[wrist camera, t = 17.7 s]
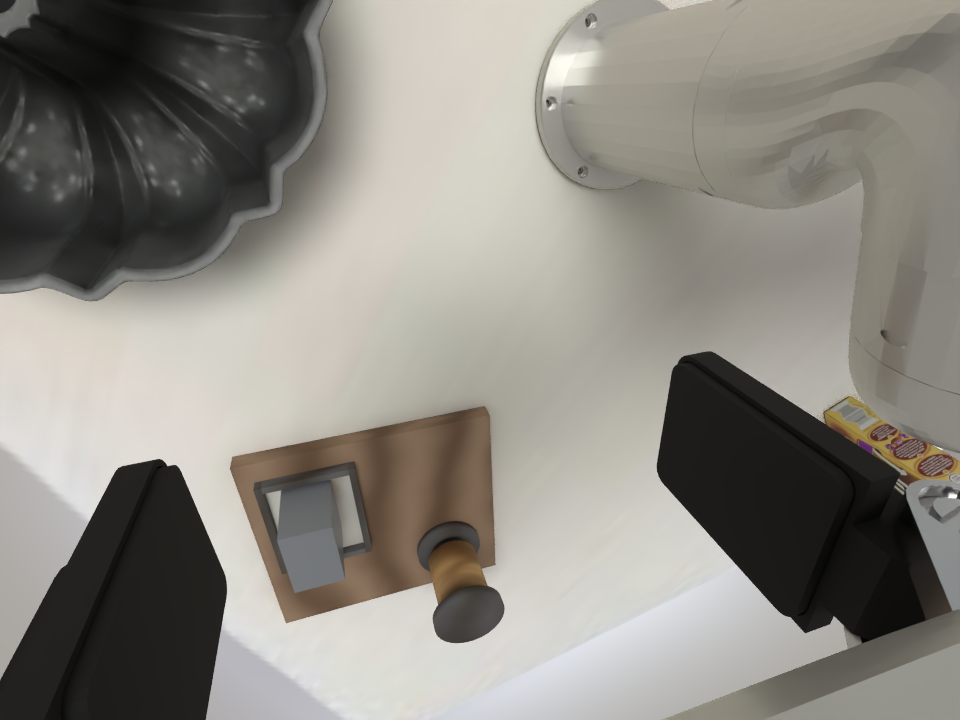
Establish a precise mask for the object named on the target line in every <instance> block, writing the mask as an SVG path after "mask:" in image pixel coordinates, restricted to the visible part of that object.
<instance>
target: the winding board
mask: <svg viewBox="0 0 960 720" xmlns="http://www.w3.org/2000/svg"><path fill="white" fill-rule="evenodd" d="M230 470H231V473H232V476H233V478H234V481H235V484H236V487H237V489H238V492H239V495H240V498H241V500H242V503H243V506H244V509H245V511H246V514H247V517H248V520H249V522H250V525H251V528H252V531H253V533H254V536H255V539H256V542H257V544H258V547H259V550H260V553H261V555H262V558H263V561H264V564H265V566H266V569H267V572H268V575H269V577H270V580H271V583H272V586H273V588H274V591H275V594H276V597H277V599H278V602H279V605H280V608H281V610H282V613H283V616H284V619H285V621H286V623H289V622H292V621H296V620H299V619H303V618H306V617H310V616H314V615H317V614H321V613H324V612H328V611H332V610H335V609H339V608H342V607H346V606H349V605H353V604H357V603H360V602H364V601H367V600H371V599H375V598H378V597H382V596H385V595H389V594H392V593H396V592H400V591H403V590H407V589H410V588H414V587H418V586H421V585H425V584H428V583H432V582H433V585H434V589H435V593H436V597H437V601H438V606H437V608H436V609H435V611H434V614H433V624H434V628H435V632H436V634H437V636H438V637H439V638H440V639H442V640H444V641H446V642H450V643H464V642H469V641H472V640H475V639H478V638H480V637H482V636H484V635H485V634H487V633H489V632H490V631H491V630H492V629H494V628H495V627H496V626H497V624H498V623H499V622H500V620H501V619H502V617H503V614H504V604H503V601H502V599H501V596H500V594H499V592H498V591H497V590H495V589H494V588H492V587H489V586H487V583H486V580H485V577H484V575H483V572H482V568H486V567H489V566H493V565H495V544H494V519H493V494H492V468H491V443H490V418H489V414H488V412H487V410H486V408H485V406H484V407H479V408H474V409H469V410H464V411H459V412H454V413H449V414H445V415H440V416H435V417H430V418H425V419H420V420H415V421H410V422H405V423H400V424H395V425H390V426H385V427H380V428H375V429H370V430H365V431H360V432H355V433H350V434H345V435H340V436H335V437H330V438H326V439H321V440H316V441H311V442H306V443H301V444H296V445H291V446H286V447H281V448H276V449H271V450H266V451H261V452H256V453H251V454H246V455H241V456H236V457H232V462H231V466H230ZM326 480H331V484H332V488H333V492H334V497H335V501H336V505H337V509H338V513H339V517H340V521H341V525H342V538H343V552H344V567H345V580H342V581H338V582H335V583H331V584H327V585H323V586H320V587H316V588H312V589H308V590H305V591H301V592H297V593H294V590H293V587H292V584H291V581H290V578H289V575H288V572H287V569H286V566H285V563H284V560H283V557H282V554H281V551H280V548H279V545H278V542H277V535H278V522H279V509H280V496H281V490H285V489H289V488H294V487H299V486H303V485H308V484H312V483H317V482H321V481H326Z"/></svg>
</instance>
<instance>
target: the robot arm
mask: <svg viewBox="0 0 960 720" xmlns="http://www.w3.org/2000/svg"><path fill="white" fill-rule="evenodd" d="M586 19H587V21H588V25H587V27H586V24H585V20H586ZM546 100H548V101H549V105H548V107H546V105H545V103H546ZM536 115H537V124H538V129H539V133H540V136H541V140H542V143H543V145H544V147H545V149H546V151H547V153H548V155H549V157H550V159H551V160H552V161H553V163H554V164H555V165H556V166H557V168H558V169H559V170H560V171H561V172H563V173H564V174H565V175H566V176H567V177H569V178H570V179H572V180H574V181H576V182H578V183H580V184H582V185H585V186H588V187H591V188H596V189H604V190H609V189H619V188H623V187H626V186H629V185H632V184H634V183H636V182H638V181H640V180H642V179H647V180H651V181H655V182H659V183H663V184H667V185H670V186H674V187H678V188H682V189H686V190H690V191H694V192H698V193H702V194H706V195H709V196H713V197H717V198H721V199H725V200H729V201H733V202H737V203H742V204H746V205H750V206H754V207H760V208H767V209H788V208H795V207H800V206H805V205H809V204H813V203H816V202H818V201H821V200H824V199H826V198H828V197H831V196H833V195H835V194H838V193H840V192H842V191H844V190H846V189H847V188H849V187H851V186H853V185H855V184H856V183H858V182H860V181H862V180H863V185H864V201H863V213H862V222H861V232H862V237H861V244H860V252H859V260H858V267H857V275H856V282H855V290H854V298H853V305H852V313H851V325H850V333H849V351H848V359H849V369H850V374H851V377H852V381H853V384H854V386H855V388H856V390H857V392H858V394H859V395H860V397H861V399H862V400H863V401H864V403H865V404H866V405H867V406H868V407H869V408H870V409H871V410H872V411H873V412H874V413H875V414H876V415H877V416H878V417H879V418H881V419H882V420H883V421H885V422H886V423H888V424H889V425H891V426H893V427H894V428H896V429H898V430H900V431H901V432H903V433H905V434H907V435H909V436H911V437H913V438H915V439H918V440H920V441H923V442H926V443H928V444H931V445H934V446H937V447H940V448H943V449H946V450H950V451H953V452H957V453H960V0H712V1H708V2H703V3H699V4H695V5H690V6H686V7H682V8H677V9H673V10H670V9H669V8H667V7H666V6H665V5H663V4H662V3H661V2H659V1H657V0H598V1H596V2H594V3H593V4H591V5H589V6H587V7H585V8H583V9H582V10H581V11H580V12H579V13H577V14H576V15H575V16H574V17H573V18H571V19H570V20H569V21H568V23H567V24H566V25H565V26H564V27H563V29H562V30H561V31H560V32H559V34H558V35H557V36H556V38H555V40H554V42H553V43H552V45H551V47H550V49H549V50H548V52H547V55H546V58H545V60H544V63H543V66H542V68H541V71H540V76H539V81H538V86H537V94H536ZM579 168H580V172H579V173H578V169H579ZM657 472H658V475H659V478H660V480H661V481H662V483H663V484H664V485H665V486H666V487H667V488H668V489H669V491H670V492H671V493H672V494H673V495H674V496H675V497H676V498H677V499H678V501H679V502H680V503H681V504H682V505H683V506H684V507H685V508H686V509H687V510H688V512H689V513H690V514H691V515H692V516H693V517H694V518H695V519H696V520H697V522H698V523H699V524H700V525H701V526H702V527H703V528H704V529H705V530H706V532H707V533H708V534H709V535H710V536H711V537H712V538H713V539H714V540H715V542H716V543H717V544H718V545H719V546H720V547H721V548H722V549H723V550H724V552H725V553H726V554H727V555H728V556H729V557H730V558H731V559H732V560H733V562H734V563H735V564H736V565H737V566H738V567H739V568H740V569H741V570H742V571H743V573H744V574H745V575H746V576H747V577H748V578H749V579H750V580H751V582H752V583H753V584H754V585H755V586H756V587H757V588H758V589H759V590H760V591H761V593H762V594H763V595H764V596H765V597H766V598H767V599H768V600H769V601H770V602H771V604H772V605H773V606H774V607H775V608H776V609H777V610H778V611H779V612H780V613H782V614H783V615H785V616H788V617H791V618H792V619H793V620H794V622H795V623H796V624H797V625H798V626H799V627H800V628H801V629H802V630H803V631H804V632H805V633H807V632H810V631H812V630H815V629H818V628H821V627H823V626H826V625H829V624H830V623H831V621H832V619H833V616H835V617H836V618H837V619H838V620H839V621H840V622H841V623H842V624H843V625H844V631H845V637H846V642H847V646H848V649H847V650H844V651H841V652H839V653H836V654H833V655H831V656H828V657H825V658H823V659H820V660H818V661H815V662H812V663H810V664H807V665H804V666H802V667H799V668H796V669H794V670H792V671H788V672H786V673H783V674H780V675H778V676H775V677H773V678H770V679H767V680H765V681H762V682H759V683H757V684H754V685H751V686H749V687H746V688H744V689H741V690H738V691H736V692H733V693H730V694H728V695H725V696H723V697H720V698H717V699H715V700H712V701H710V702H707V703H704V704H702V705H699V706H697V707H694V708H691V709H689V710H686V711H684V712H681V713H678V714H676V715H673V716H670V717H668V718H665V719H663V720H960V484H959V483H955V482H951V481H946V480H938V479H924V480H918V481H915V482H913V483H911V484H910V485H909V486H908V488H907V489H906V491H905V493H904V495H903V494H901V493H900V492H898V491H897V490H895V489H894V487H895V484H896V482H897V480H898V478H899V476H900V474H901V473H900V472H899V471H897V470H896V469H894V468H892V467H891V466H889V465H888V464H886V463H885V462H883V461H882V460H880V459H878V458H877V457H875V456H874V455H872V454H871V453H869V452H868V451H866V450H864V449H863V448H861V447H860V446H858V445H857V444H855V443H854V442H852V441H850V440H849V439H847V438H846V437H844V436H843V435H841V434H840V433H838V432H837V431H835V430H833V429H832V428H830V427H829V426H827V425H826V424H824V423H823V422H821V421H819V420H818V419H816V418H815V417H813V416H812V415H810V414H809V413H807V412H805V411H804V410H802V409H801V408H799V407H798V406H796V405H795V404H793V403H792V402H790V401H788V400H787V399H785V398H784V397H782V396H781V395H779V394H778V393H776V392H774V391H773V390H771V389H770V388H768V387H767V386H765V385H764V384H762V383H760V382H759V381H757V380H756V379H754V378H753V377H751V376H750V375H748V374H746V373H745V372H743V371H742V370H740V369H739V368H737V367H736V366H734V365H733V364H731V363H729V362H728V361H726V360H725V359H723V358H722V357H720V356H719V355H717V354H715V353H713V352H702V353H697V354H692V355H687V356H684V357H682V358H681V359H680V360H679V362H678V364H677V365H676V366H675V367H674V368H673V371H672V375H671V381H670V387H669V394H668V400H667V406H666V412H665V418H664V424H663V430H662V436H661V442H660V448H659V455H658V461H657ZM226 596H227V584H226V577H225V574H224V571H223V569H222V567H221V564H220V562H219V560H218V557H217V555H216V553H215V550H214V548H213V545H212V543H211V541H210V538H209V536H208V534H207V531H206V529H205V527H204V524H203V522H202V520H201V517H200V515H199V513H198V510H197V508H196V506H195V503H194V501H193V498H192V496H191V494H190V491H189V489H188V487H187V484H186V482H185V480H184V477H183V475H182V473H181V471H180V469H179V468H178V466H176V465H172V466H167V465H166V463H165V462H164V461H163V460H160V459H157V460H152V461H147V462H142V463H137V464H131V465H126V466H122V467H120V468H118V469H117V470H116V472H115V473H114V475H113V477H112V479H111V481H110V483H109V485H108V487H107V489H106V491H105V493H104V494H103V496H102V498H101V500H100V502H99V504H98V506H97V508H96V510H95V512H94V514H93V516H92V518H91V520H90V521H89V523H88V525H87V527H86V529H85V531H84V533H83V535H82V537H81V539H80V541H79V543H78V545H77V547H76V548H75V550H74V552H73V554H72V556H71V558H70V560H69V562H68V564H67V565H66V566H64V567H63V568H62V569H61V570H60V571H59V572H58V574H57V576H56V577H55V578H54V580H53V582H52V584H51V586H50V588H49V589H48V591H47V593H46V595H45V597H44V599H43V601H42V603H41V605H40V606H39V608H38V610H37V612H36V614H35V616H34V618H33V619H32V622H31V623H30V625H29V627H28V629H27V631H26V633H25V635H24V636H23V638H22V640H21V642H20V644H19V646H18V648H17V650H16V652H15V653H14V655H13V657H12V659H11V661H10V663H9V665H8V667H7V669H6V670H5V672H4V674H3V676H2V678H1V680H0V720H206V714H207V708H208V702H209V696H210V691H211V685H212V679H213V673H214V667H215V661H216V655H217V649H218V643H219V638H220V632H221V626H222V620H223V614H224V608H225V602H226Z"/></svg>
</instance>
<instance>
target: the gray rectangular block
mask: <svg viewBox="0 0 960 720" xmlns="http://www.w3.org/2000/svg"><path fill="white" fill-rule="evenodd" d="M277 542H278V545H279V548H280V551H281V554H282V557H283V560H284V563H285V566H286V569H287V572H288V575H289V578H290V581H291V584H292V587H293V590H294V593H297V592H301V591H305V590H308V589H312V588H316V587H320V586H323V585H327V584H331V583H335V582H338V581H342V580H345V567H344V552H343V538H342V525H341V521H340V517H339V513H338V509H337V505H336V501H335V497H334V492H333V488H332V484H331V480H326V481H321V482H317V483H312V484H308V485H303V486H299V487H294V488H289V489H285V490H281V496H280V509H279V522H278V535H277Z"/></svg>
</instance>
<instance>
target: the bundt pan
mask: <svg viewBox="0 0 960 720" xmlns="http://www.w3.org/2000/svg"><path fill="white" fill-rule="evenodd" d="M332 2H333V0H0V294H6V293H18V292H24V291H30V290H34V289H38V288H50V289H54V290H57V291H60V292H63V293H65V294H68V295H71V296H73V297H76V298H78V299H82V300H85V301H98V300H100V299H103V298H104V297H105V296H107V295H108V294H109V293H111V292H112V291H113V290H114V289H116V288H117V287H118V286H119V285H121V284H123V283H124V282H127V281H164V280H171V279H176V278H180V277H184V276H187V275H190V274H193V273H195V272H197V271H199V270H201V269H203V268H205V267H207V266H208V265H210V264H211V263H213V262H214V261H215V260H216V259H218V258H219V257H220V256H221V255H222V254H223V253H224V252H225V251H226V250H227V248H228V247H229V246H230V245H231V243H232V241H233V240H234V238H235V237H236V235H237V233H238V232H239V230H240V228H241V226H242V224H243V223H245V222H246V221H251V220H256V219H260V218H264V217H268V216H271V215H274V214H276V213H277V212H278V211H279V210H280V209H281V207H282V203H283V190H284V173H285V170H286V169H287V168H288V167H289V166H290V165H292V164H293V163H295V162H296V161H297V160H298V159H299V158H300V157H301V156H302V155H303V153H304V152H305V151H306V150H307V149H308V148H309V146H310V144H311V143H312V141H313V140H314V138H315V136H316V134H317V132H318V130H319V128H320V125H321V122H322V119H323V115H324V111H325V107H326V99H327V72H326V65H325V59H324V54H323V51H322V47H321V43H320V40H319V36H320V29H321V26H322V24H323V21H324V19H325V16H326V14H327V12H328V10H329V8H330V6H331V4H332Z"/></svg>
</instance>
